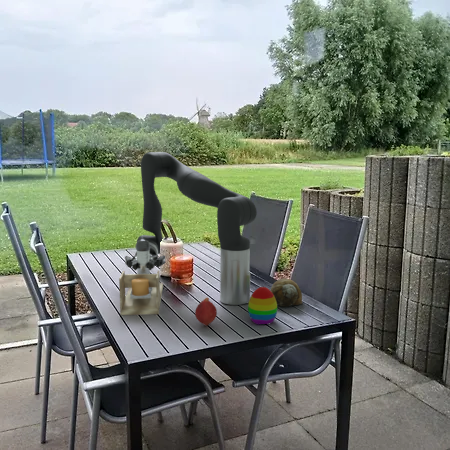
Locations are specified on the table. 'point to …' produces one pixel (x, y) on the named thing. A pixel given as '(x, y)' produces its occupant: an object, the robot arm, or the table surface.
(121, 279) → the frame
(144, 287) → the rounded orange object
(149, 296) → the shaft
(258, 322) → the decorative egg
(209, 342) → the table surface
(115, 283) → the table surface
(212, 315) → the onion
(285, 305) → the seashell
